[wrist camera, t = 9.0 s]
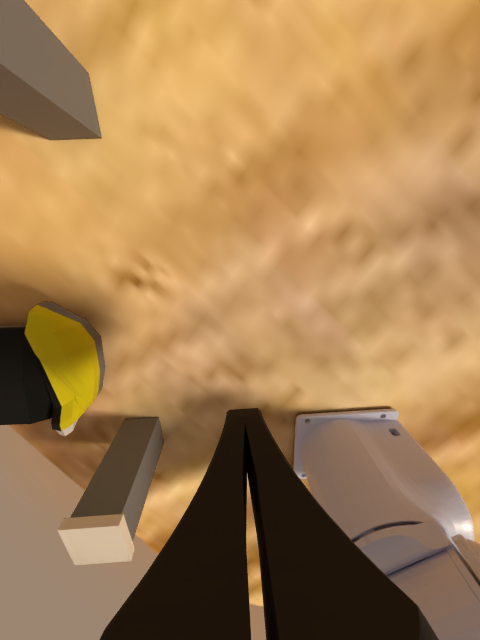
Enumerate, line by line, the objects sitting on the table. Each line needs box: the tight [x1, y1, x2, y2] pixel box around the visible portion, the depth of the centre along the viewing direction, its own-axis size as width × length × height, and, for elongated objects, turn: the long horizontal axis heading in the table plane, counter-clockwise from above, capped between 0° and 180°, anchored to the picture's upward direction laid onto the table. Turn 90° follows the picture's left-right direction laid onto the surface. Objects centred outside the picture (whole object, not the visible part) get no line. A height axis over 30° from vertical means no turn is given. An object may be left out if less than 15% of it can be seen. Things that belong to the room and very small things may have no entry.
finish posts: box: [0, 0, 164, 565], centre depth 14 cm, size 3×27×9 cm, turn 2°
